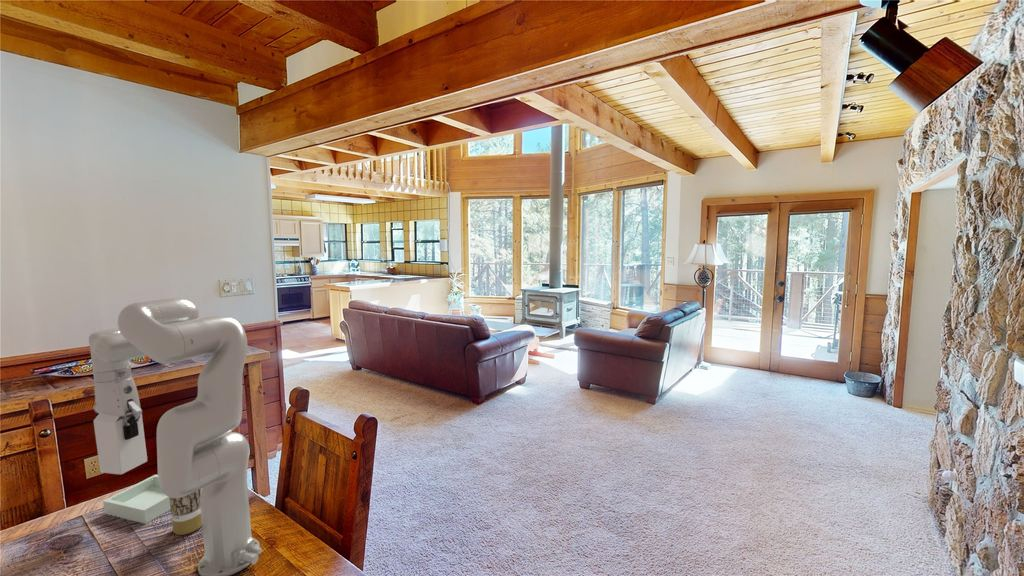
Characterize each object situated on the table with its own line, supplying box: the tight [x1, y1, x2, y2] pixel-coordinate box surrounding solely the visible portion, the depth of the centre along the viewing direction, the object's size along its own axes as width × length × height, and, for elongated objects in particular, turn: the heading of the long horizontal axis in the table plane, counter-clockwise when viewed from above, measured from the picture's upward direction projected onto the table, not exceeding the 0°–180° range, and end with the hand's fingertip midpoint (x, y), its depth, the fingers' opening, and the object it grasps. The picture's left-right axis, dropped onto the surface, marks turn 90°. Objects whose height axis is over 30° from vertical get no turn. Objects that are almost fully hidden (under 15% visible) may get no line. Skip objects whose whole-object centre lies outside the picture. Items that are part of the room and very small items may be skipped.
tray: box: [102, 474, 171, 525], centre depth 126 cm, size 16×14×4 cm
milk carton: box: [93, 411, 148, 475], centre depth 118 cm, size 7×7×19 cm
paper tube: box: [169, 488, 202, 536], centre depth 114 cm, size 7×7×25 cm
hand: (120, 435), depth 118 cm, fingers closed on milk carton, 7 cm apart
